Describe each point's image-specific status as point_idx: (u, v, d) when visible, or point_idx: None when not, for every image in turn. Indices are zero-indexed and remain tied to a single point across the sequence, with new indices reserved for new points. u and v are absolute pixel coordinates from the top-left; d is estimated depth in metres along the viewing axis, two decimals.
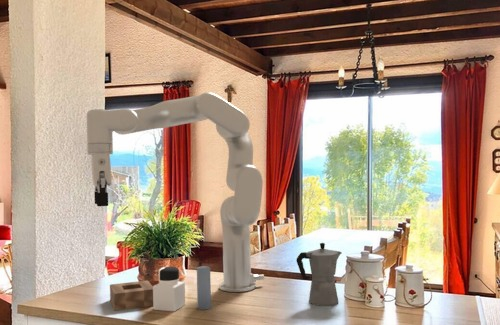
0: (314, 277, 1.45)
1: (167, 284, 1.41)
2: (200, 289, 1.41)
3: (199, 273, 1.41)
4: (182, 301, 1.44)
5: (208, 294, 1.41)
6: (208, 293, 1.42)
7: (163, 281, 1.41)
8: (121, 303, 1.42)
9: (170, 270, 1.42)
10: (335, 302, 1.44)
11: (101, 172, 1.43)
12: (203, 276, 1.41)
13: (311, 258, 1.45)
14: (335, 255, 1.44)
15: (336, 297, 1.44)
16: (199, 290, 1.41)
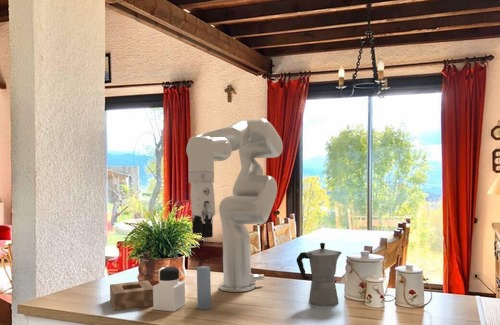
0: (314, 277, 1.45)
1: (167, 284, 1.41)
2: (200, 289, 1.41)
3: (199, 273, 1.41)
4: (182, 301, 1.44)
5: (208, 294, 1.41)
6: (208, 293, 1.42)
7: (163, 281, 1.41)
8: (121, 303, 1.42)
9: (170, 270, 1.42)
10: (335, 302, 1.44)
11: (206, 202, 1.38)
12: (203, 276, 1.41)
13: (311, 258, 1.45)
14: (335, 255, 1.44)
15: (336, 297, 1.44)
16: (199, 290, 1.41)
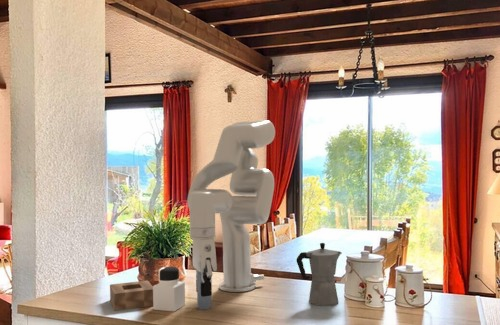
0: (314, 277, 1.45)
1: (167, 284, 1.41)
2: (200, 289, 1.41)
3: (199, 273, 1.41)
4: (182, 301, 1.44)
5: None
6: None
7: (163, 281, 1.41)
8: (121, 303, 1.42)
9: (170, 270, 1.42)
10: (335, 302, 1.44)
11: (207, 261, 1.38)
12: None
13: (311, 258, 1.45)
14: (335, 255, 1.44)
15: (336, 297, 1.44)
16: (199, 290, 1.41)
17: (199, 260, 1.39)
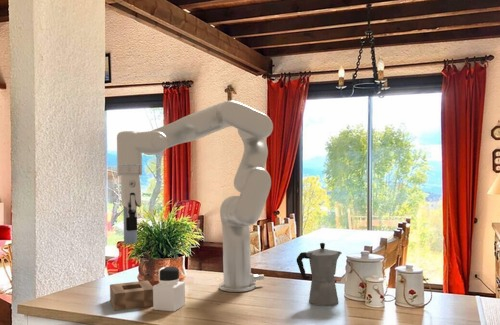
0: (314, 277, 1.45)
1: (167, 284, 1.41)
2: (125, 224, 1.48)
3: (125, 209, 1.48)
4: (182, 301, 1.44)
5: None
6: None
7: (163, 281, 1.41)
8: (121, 303, 1.42)
9: (170, 270, 1.42)
10: (335, 302, 1.44)
11: (131, 196, 1.45)
12: None
13: (311, 258, 1.45)
14: (335, 255, 1.44)
15: (336, 297, 1.44)
16: (125, 225, 1.48)
17: (124, 195, 1.45)
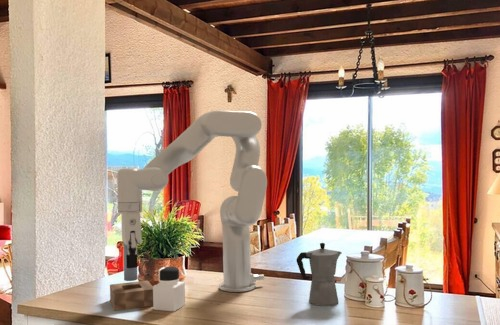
0: (314, 277, 1.45)
1: (167, 284, 1.41)
2: (126, 262, 1.48)
3: (125, 246, 1.48)
4: (182, 301, 1.44)
5: None
6: None
7: (163, 281, 1.41)
8: (121, 303, 1.42)
9: (170, 270, 1.42)
10: (335, 302, 1.44)
11: (132, 234, 1.45)
12: None
13: (311, 258, 1.45)
14: (335, 255, 1.44)
15: (336, 297, 1.44)
16: (125, 262, 1.48)
17: (124, 233, 1.45)
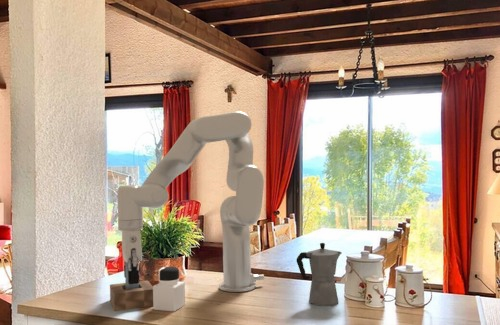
0: (314, 277, 1.45)
1: (167, 284, 1.41)
2: (127, 283, 1.48)
3: (127, 268, 1.48)
4: (182, 301, 1.44)
5: (135, 288, 1.48)
6: (136, 287, 1.48)
7: (163, 281, 1.41)
8: (121, 303, 1.42)
9: (170, 270, 1.42)
10: (335, 302, 1.44)
11: (132, 250, 1.45)
12: None
13: (311, 258, 1.45)
14: (335, 255, 1.44)
15: (336, 297, 1.44)
16: (127, 284, 1.48)
17: (125, 251, 1.45)
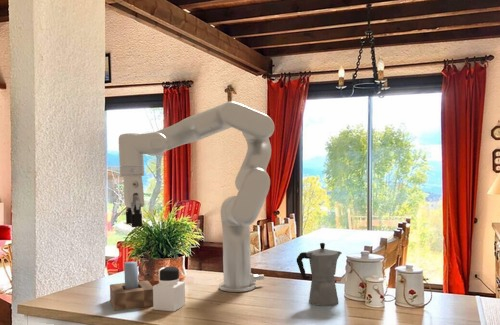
0: (314, 277, 1.45)
1: (167, 284, 1.41)
2: (126, 284, 1.48)
3: (126, 268, 1.48)
4: (182, 301, 1.44)
5: (135, 288, 1.48)
6: (135, 287, 1.48)
7: (163, 281, 1.41)
8: (121, 303, 1.42)
9: (170, 270, 1.42)
10: (335, 302, 1.44)
11: (135, 194, 1.49)
12: (130, 271, 1.47)
13: (311, 258, 1.45)
14: (335, 255, 1.44)
15: (336, 297, 1.44)
16: (126, 284, 1.48)
17: (127, 196, 1.49)
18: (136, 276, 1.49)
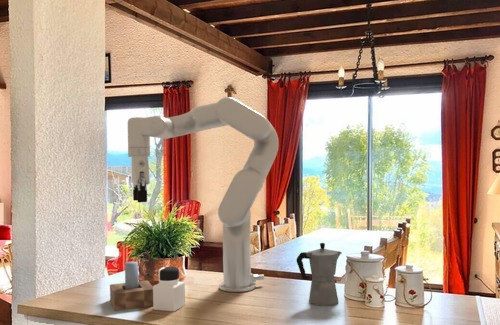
0: (314, 277, 1.45)
1: (167, 284, 1.41)
2: (127, 283, 1.48)
3: (126, 268, 1.48)
4: (182, 301, 1.44)
5: (135, 288, 1.48)
6: (136, 287, 1.48)
7: (163, 281, 1.41)
8: (121, 303, 1.42)
9: (170, 270, 1.42)
10: (335, 302, 1.44)
11: (141, 172, 1.64)
12: (131, 271, 1.48)
13: (311, 258, 1.45)
14: (335, 255, 1.44)
15: (336, 297, 1.44)
16: (126, 284, 1.48)
17: (134, 174, 1.64)
18: (137, 276, 1.49)
